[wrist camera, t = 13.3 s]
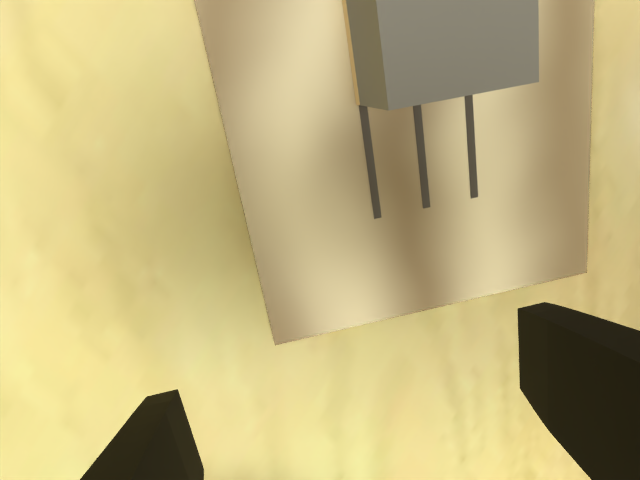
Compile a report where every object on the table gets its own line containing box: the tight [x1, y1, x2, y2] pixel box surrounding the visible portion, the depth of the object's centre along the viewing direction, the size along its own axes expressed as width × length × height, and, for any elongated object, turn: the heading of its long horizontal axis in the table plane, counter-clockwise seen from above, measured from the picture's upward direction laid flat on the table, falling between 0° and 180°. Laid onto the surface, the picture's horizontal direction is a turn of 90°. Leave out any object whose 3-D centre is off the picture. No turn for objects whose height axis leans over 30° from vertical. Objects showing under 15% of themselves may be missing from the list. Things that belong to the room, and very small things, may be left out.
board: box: [194, 0, 594, 345], centre depth 17 cm, size 14×18×1 cm
